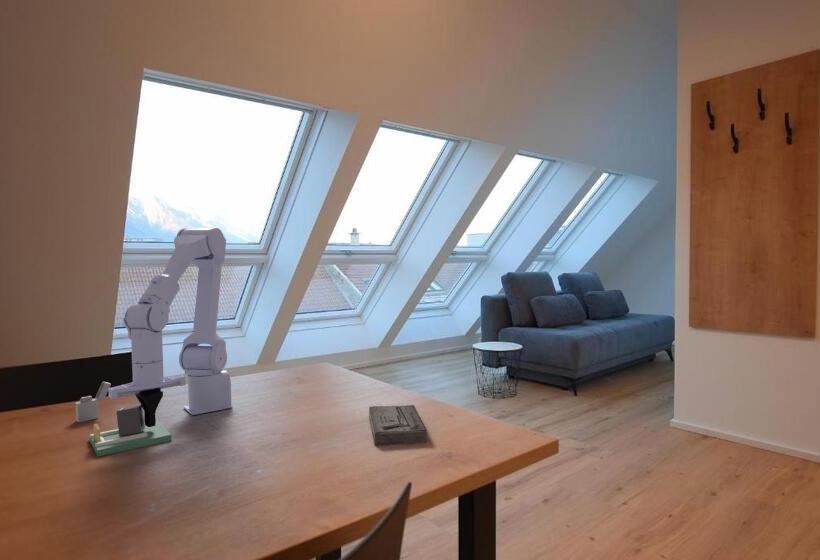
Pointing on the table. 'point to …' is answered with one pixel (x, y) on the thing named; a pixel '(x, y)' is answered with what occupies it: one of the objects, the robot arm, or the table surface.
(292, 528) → the table surface
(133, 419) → the plug
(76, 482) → the table surface
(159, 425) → the header board
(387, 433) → the box
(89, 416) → the lighter
